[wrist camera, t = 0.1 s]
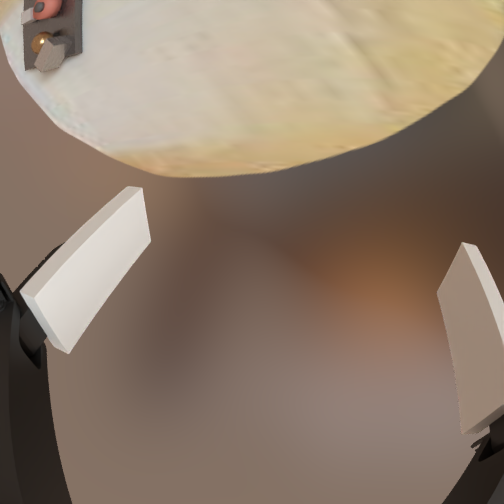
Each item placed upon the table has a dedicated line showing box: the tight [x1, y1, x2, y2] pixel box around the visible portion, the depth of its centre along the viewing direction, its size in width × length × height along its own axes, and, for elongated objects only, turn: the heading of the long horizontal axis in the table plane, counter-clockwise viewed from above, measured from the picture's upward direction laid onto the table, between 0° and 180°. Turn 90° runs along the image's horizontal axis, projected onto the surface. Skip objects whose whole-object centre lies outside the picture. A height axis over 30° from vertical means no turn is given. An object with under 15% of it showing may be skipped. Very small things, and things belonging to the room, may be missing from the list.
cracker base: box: [23, 0, 82, 72], centre depth 25 cm, size 26×14×6 cm, turn 177°
